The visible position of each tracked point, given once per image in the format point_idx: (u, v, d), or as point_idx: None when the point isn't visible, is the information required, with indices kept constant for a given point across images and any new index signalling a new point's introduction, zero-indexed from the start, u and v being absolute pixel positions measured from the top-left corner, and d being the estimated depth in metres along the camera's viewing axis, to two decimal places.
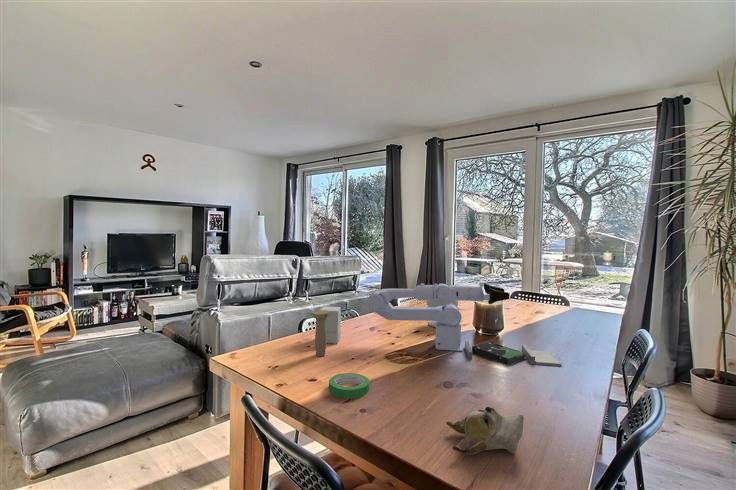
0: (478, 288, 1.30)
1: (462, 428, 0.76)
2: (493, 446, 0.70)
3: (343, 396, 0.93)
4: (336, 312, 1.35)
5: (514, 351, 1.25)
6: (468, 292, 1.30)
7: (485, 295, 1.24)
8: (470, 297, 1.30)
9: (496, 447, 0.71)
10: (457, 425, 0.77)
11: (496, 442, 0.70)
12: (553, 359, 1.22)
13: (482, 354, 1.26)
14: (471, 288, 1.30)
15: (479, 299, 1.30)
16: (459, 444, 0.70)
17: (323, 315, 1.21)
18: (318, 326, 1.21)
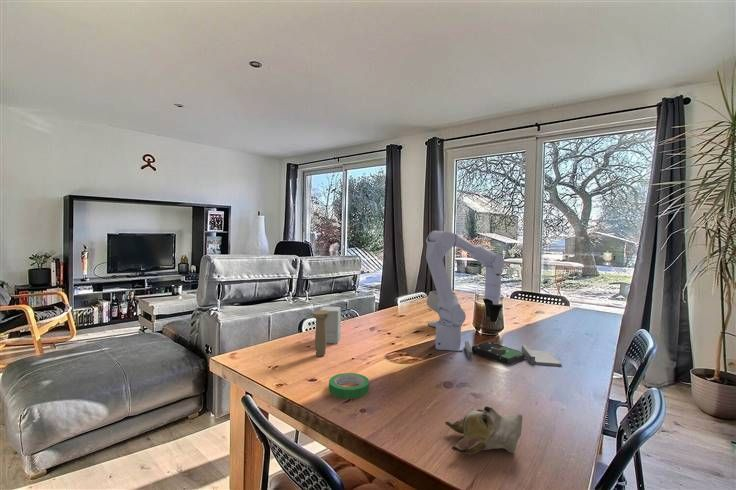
0: (498, 294, 1.37)
1: (461, 428, 0.76)
2: (492, 446, 0.71)
3: (343, 396, 0.93)
4: (336, 312, 1.35)
5: (514, 351, 1.25)
6: (499, 284, 1.37)
7: (497, 300, 1.32)
8: (490, 286, 1.37)
9: (495, 447, 0.71)
10: (456, 425, 0.77)
11: (495, 442, 0.70)
12: (553, 359, 1.22)
13: (482, 354, 1.26)
14: (499, 287, 1.37)
15: (488, 294, 1.38)
16: (458, 444, 0.71)
17: (323, 315, 1.21)
18: (318, 326, 1.21)
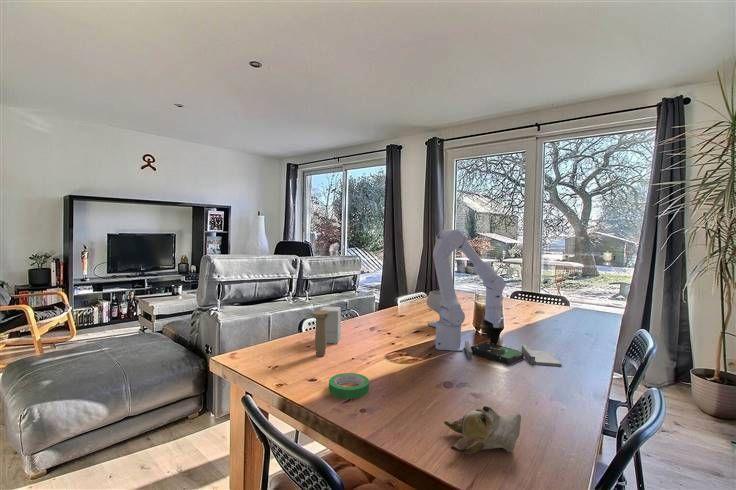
0: (499, 316, 1.35)
1: (460, 428, 0.76)
2: (490, 446, 0.71)
3: (343, 396, 0.93)
4: (336, 312, 1.35)
5: (513, 351, 1.25)
6: (499, 307, 1.35)
7: (498, 323, 1.30)
8: (491, 308, 1.35)
9: (494, 446, 0.71)
10: (455, 425, 0.77)
11: (494, 441, 0.70)
12: (553, 359, 1.22)
13: (481, 354, 1.26)
14: (499, 309, 1.35)
15: (488, 316, 1.36)
16: (457, 444, 0.71)
17: (323, 315, 1.21)
18: (318, 326, 1.21)
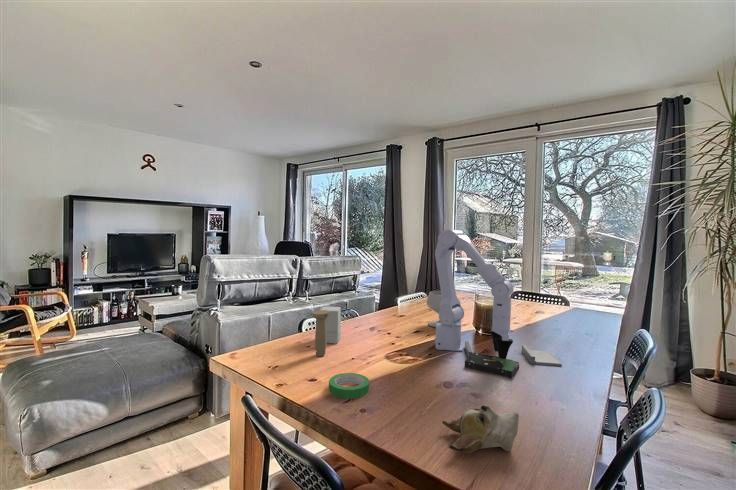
0: (508, 328, 1.20)
1: (458, 427, 0.76)
2: (489, 445, 0.71)
3: (343, 396, 0.93)
4: (336, 312, 1.35)
5: (508, 361, 1.16)
6: (500, 316, 1.20)
7: (507, 336, 1.15)
8: (499, 318, 1.20)
9: (492, 445, 0.71)
10: (453, 424, 0.77)
11: (492, 440, 0.71)
12: (553, 359, 1.22)
13: (478, 369, 1.13)
14: (508, 320, 1.20)
15: (496, 327, 1.21)
16: (455, 443, 0.71)
17: (323, 315, 1.21)
18: (318, 326, 1.21)
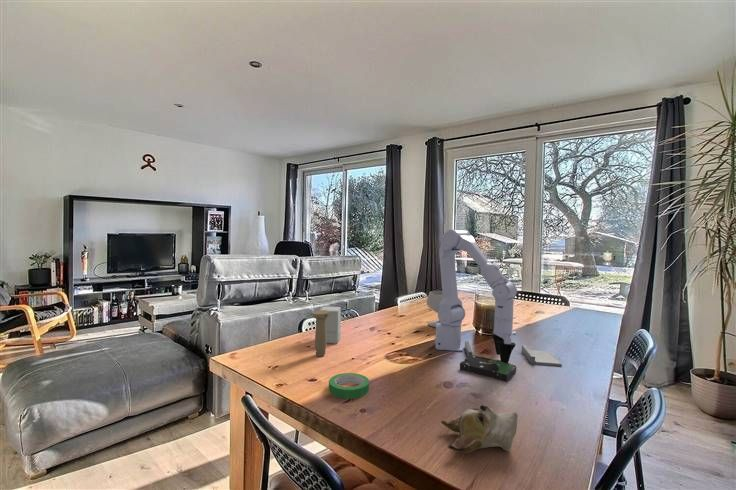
0: (510, 330, 1.17)
1: (457, 427, 0.76)
2: (488, 444, 0.71)
3: (343, 396, 0.93)
4: (336, 312, 1.35)
5: (505, 364, 1.13)
6: (501, 319, 1.17)
7: (510, 339, 1.12)
8: (501, 321, 1.17)
9: (491, 445, 0.71)
10: (452, 424, 0.77)
11: (491, 440, 0.71)
12: (553, 359, 1.22)
13: (473, 371, 1.11)
14: (511, 322, 1.17)
15: (498, 330, 1.18)
16: (455, 443, 0.71)
17: (323, 315, 1.21)
18: (318, 326, 1.21)
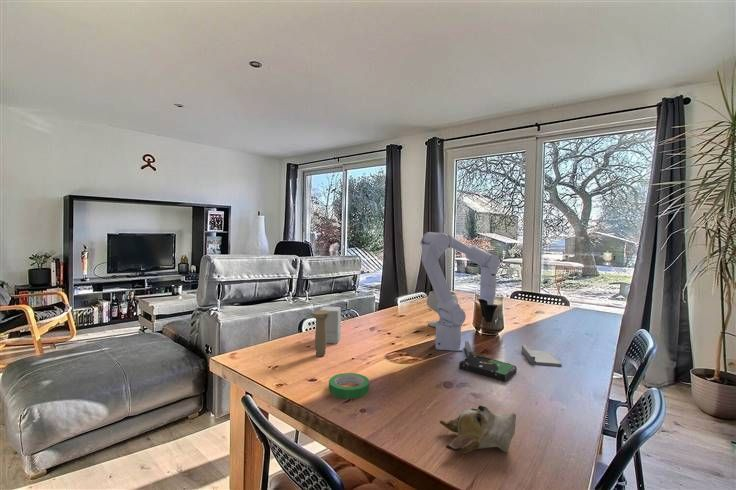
0: (494, 294, 1.37)
1: (455, 427, 0.76)
2: (485, 445, 0.71)
3: (343, 396, 0.93)
4: (336, 312, 1.35)
5: (505, 364, 1.13)
6: (494, 285, 1.36)
7: (492, 301, 1.32)
8: (485, 286, 1.36)
9: (489, 445, 0.71)
10: (450, 424, 0.77)
11: (489, 441, 0.70)
12: (553, 359, 1.22)
13: (472, 371, 1.11)
14: (494, 288, 1.36)
15: (483, 295, 1.37)
16: (452, 443, 0.71)
17: (323, 315, 1.21)
18: (318, 326, 1.21)
